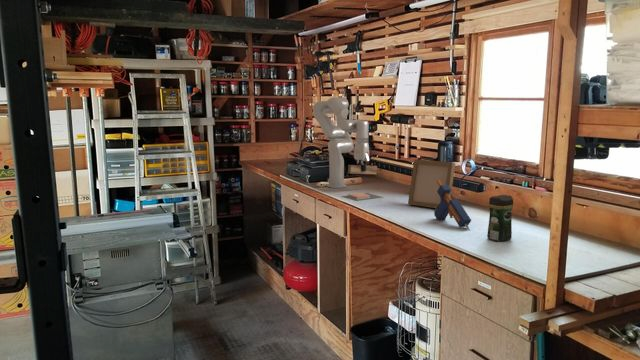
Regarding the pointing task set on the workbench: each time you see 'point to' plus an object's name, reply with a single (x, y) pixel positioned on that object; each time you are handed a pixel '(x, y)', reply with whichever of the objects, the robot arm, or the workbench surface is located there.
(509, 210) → the coffee jar
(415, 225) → the workbench surface
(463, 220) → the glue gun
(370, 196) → the mat
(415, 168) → the photo frame
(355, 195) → the tile
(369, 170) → the batten
